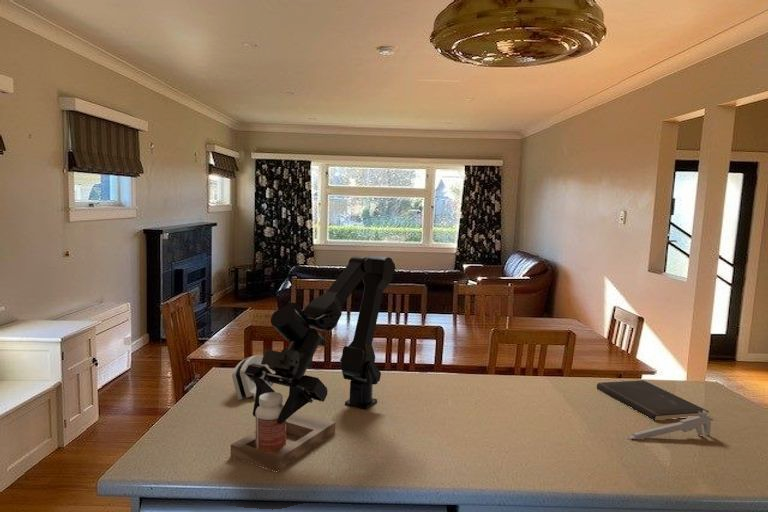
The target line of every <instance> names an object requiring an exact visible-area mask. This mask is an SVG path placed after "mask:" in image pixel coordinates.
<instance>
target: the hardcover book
mask: <svg viewBox="0 0 768 512" xmlns="http://www.w3.org/2000/svg"><path fill="white" fill-rule="evenodd" d="M596 390H598V391H600V392H602V393H604V394H605V395H608V396H609V397H610V398H612V399H614V400H616V401H617V400H618V401H617V402H619V401H620V403H621V402H622V403H621V404H623V403H624V404H623V405H625V404H626V405H628V406H630V407H632V408H633V409H635V410H637V411H638V412H637V411H636V412H637V413H639V412H640V413H642V414H644V415H646V416H648V417H649V418H651V419H653V420H660V421H663V420H662V419H672V418H680V417H688V416H699V412H701V413H702V411H703V410H704V411H706V412H707V413H709V412H710V411H709V410H707V409H705V408H703V407H701V406H698V405H696V404H694V403H692V402H691V401H688V400H686V399H684V398H682V397H680V396H677V395H675V394H674V393H672V392H669V391H667V390H665V389H663V388H661V387H658V386H657V385H654V384H652V383H650V382H648V381H646V380H644V379H643V380H641V379H640V380H623V381H621V380H620V381H608V382H607V381H605V382H604V381H603V382H598V383H597V384H596ZM626 405H625V406H626ZM628 406H627V407H628ZM630 407H629V408H630ZM632 408H631V409H632ZM633 409H632V410H633ZM635 410H634V411H635ZM698 411H699V412H698ZM640 413H639V414H640ZM642 414H641V415H642ZM644 415H643V416H644ZM646 416H645V417H646ZM649 418H648V419H649ZM651 419H650V420H651ZM653 420H652V421H653Z"/></svg>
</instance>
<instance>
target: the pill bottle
mask: <svg viewBox="0 0 768 512" xmlns="http://www.w3.org/2000/svg"><path fill="white" fill-rule="evenodd" d="M259 405H260V406H258V408H257V409H256V412H255V417H254V418H255V423H254V424H255V431H256V449H259V450H262V451H265V452H268V453H271V454H272V453H273V452H275V451H277V450H278V449H280V448H281V447H283V446H285V445H287V433H286V420H285V421H284V422H283V423H282V424H279V423H277V420H278V418H279V415H280V413H281V411H282V409H283V407H284V405H285V404H283V394H282V393H280V392H277V391H275V392H269V393H264V394H262V395H260V397H259Z"/></svg>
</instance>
